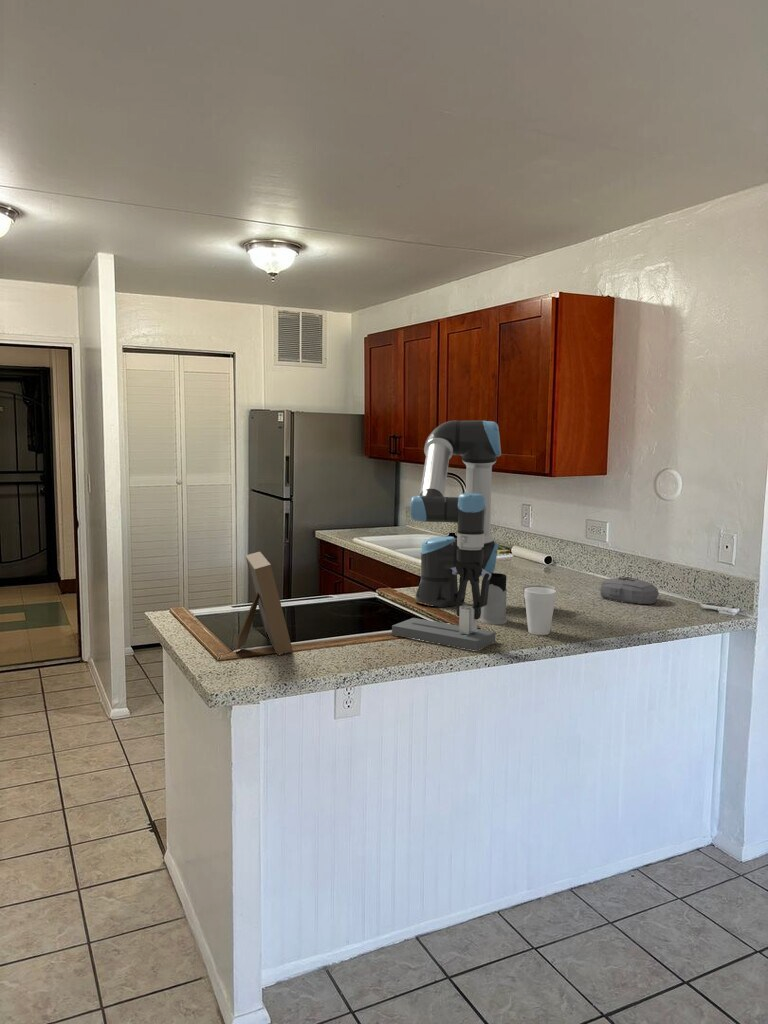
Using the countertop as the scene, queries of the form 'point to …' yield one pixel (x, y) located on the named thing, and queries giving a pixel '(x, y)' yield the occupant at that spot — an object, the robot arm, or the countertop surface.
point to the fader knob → (465, 620)
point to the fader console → (443, 634)
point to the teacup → (538, 586)
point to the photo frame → (265, 605)
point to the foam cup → (539, 609)
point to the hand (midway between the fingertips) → (468, 628)
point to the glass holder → (495, 601)
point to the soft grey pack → (629, 590)
